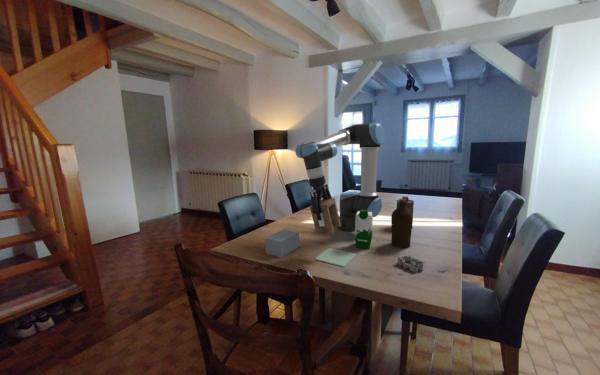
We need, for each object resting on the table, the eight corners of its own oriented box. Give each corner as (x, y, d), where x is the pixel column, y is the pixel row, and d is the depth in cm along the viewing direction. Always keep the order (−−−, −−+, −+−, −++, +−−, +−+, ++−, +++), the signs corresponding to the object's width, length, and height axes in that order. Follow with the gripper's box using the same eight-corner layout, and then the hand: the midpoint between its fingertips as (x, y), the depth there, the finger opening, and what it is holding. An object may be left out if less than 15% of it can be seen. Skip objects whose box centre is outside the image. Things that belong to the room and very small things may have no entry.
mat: (329, 248, 140) (329, 247, 140) (356, 255, 132) (356, 254, 132) (315, 259, 128) (315, 258, 128) (344, 267, 120) (344, 266, 119)
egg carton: (394, 263, 123) (395, 255, 122) (407, 260, 126) (407, 252, 125) (413, 273, 113) (413, 264, 113) (426, 270, 116) (426, 261, 116)
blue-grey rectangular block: (265, 253, 136) (264, 238, 135) (284, 242, 149) (283, 229, 148) (281, 257, 131) (280, 241, 129) (299, 246, 144) (299, 232, 142)
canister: (414, 230, 166) (416, 198, 162) (396, 229, 168) (398, 198, 165) (410, 225, 176) (412, 195, 173) (394, 224, 179) (395, 194, 175)
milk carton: (353, 247, 141) (354, 210, 137) (356, 241, 149) (356, 206, 146) (371, 249, 138) (372, 212, 134) (372, 243, 146) (373, 207, 143)
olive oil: (414, 248, 139) (417, 201, 134) (394, 248, 139) (396, 201, 134) (406, 240, 149) (409, 196, 145) (387, 241, 149) (389, 197, 145)
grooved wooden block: (300, 220, 131) (315, 195, 122) (310, 213, 138) (324, 190, 129) (326, 242, 126) (343, 218, 117) (334, 234, 133) (351, 211, 125)
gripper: (320, 172, 135) (330, 214, 139) (297, 183, 118) (309, 231, 122) (333, 170, 131) (343, 213, 135) (311, 181, 113) (323, 231, 117)
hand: (327, 222), depth 128 cm, fingers closed on grooved wooden block, 9 cm apart
